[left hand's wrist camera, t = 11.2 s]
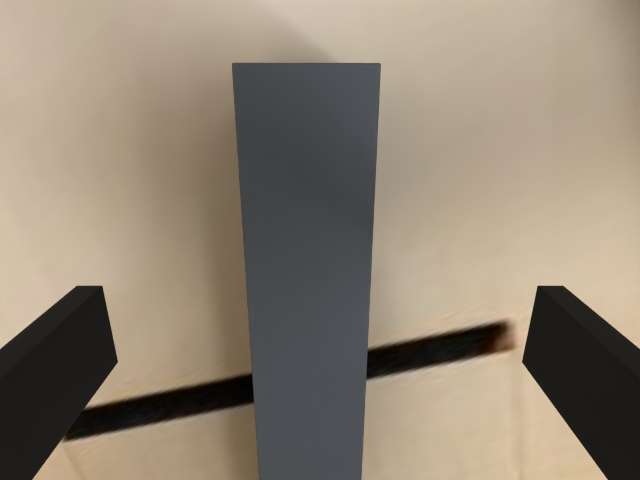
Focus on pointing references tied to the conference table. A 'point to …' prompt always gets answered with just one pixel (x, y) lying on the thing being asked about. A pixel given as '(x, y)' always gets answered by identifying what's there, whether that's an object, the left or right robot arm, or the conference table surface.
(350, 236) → the beam
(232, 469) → the conference table surface
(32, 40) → the conference table surface
